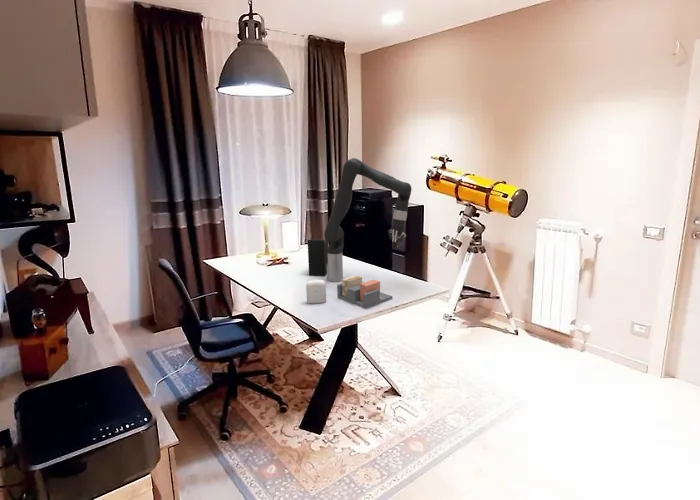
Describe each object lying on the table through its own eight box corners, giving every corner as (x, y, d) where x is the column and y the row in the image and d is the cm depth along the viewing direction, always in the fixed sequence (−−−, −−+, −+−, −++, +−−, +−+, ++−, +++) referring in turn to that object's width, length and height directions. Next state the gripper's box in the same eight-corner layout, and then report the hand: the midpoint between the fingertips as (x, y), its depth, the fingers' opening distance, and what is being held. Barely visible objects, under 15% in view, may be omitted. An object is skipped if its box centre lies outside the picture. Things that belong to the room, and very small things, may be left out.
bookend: (317, 265, 293) (316, 232, 287) (332, 266, 291) (331, 232, 286) (308, 276, 271) (307, 240, 265) (325, 276, 269) (324, 240, 263)
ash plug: (342, 295, 230) (342, 279, 228) (355, 290, 237) (355, 275, 235) (348, 297, 227) (348, 281, 225) (362, 292, 233) (361, 277, 231)
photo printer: (306, 304, 224) (305, 281, 220) (306, 301, 228) (305, 279, 225) (326, 303, 224) (325, 280, 221) (326, 300, 229) (325, 278, 226)
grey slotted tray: (337, 297, 232) (337, 284, 230) (363, 289, 245) (363, 276, 243) (365, 308, 216) (365, 294, 214) (392, 298, 229) (392, 285, 227)
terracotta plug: (359, 300, 223) (359, 283, 221) (373, 295, 229) (373, 279, 227) (366, 302, 219) (366, 286, 217) (380, 297, 226) (380, 281, 224)
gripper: (386, 215, 240) (381, 245, 243) (404, 220, 231) (398, 251, 234) (395, 216, 245) (390, 245, 249) (412, 220, 236) (407, 251, 239)
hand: (394, 248), depth 241 cm, fingers closed
